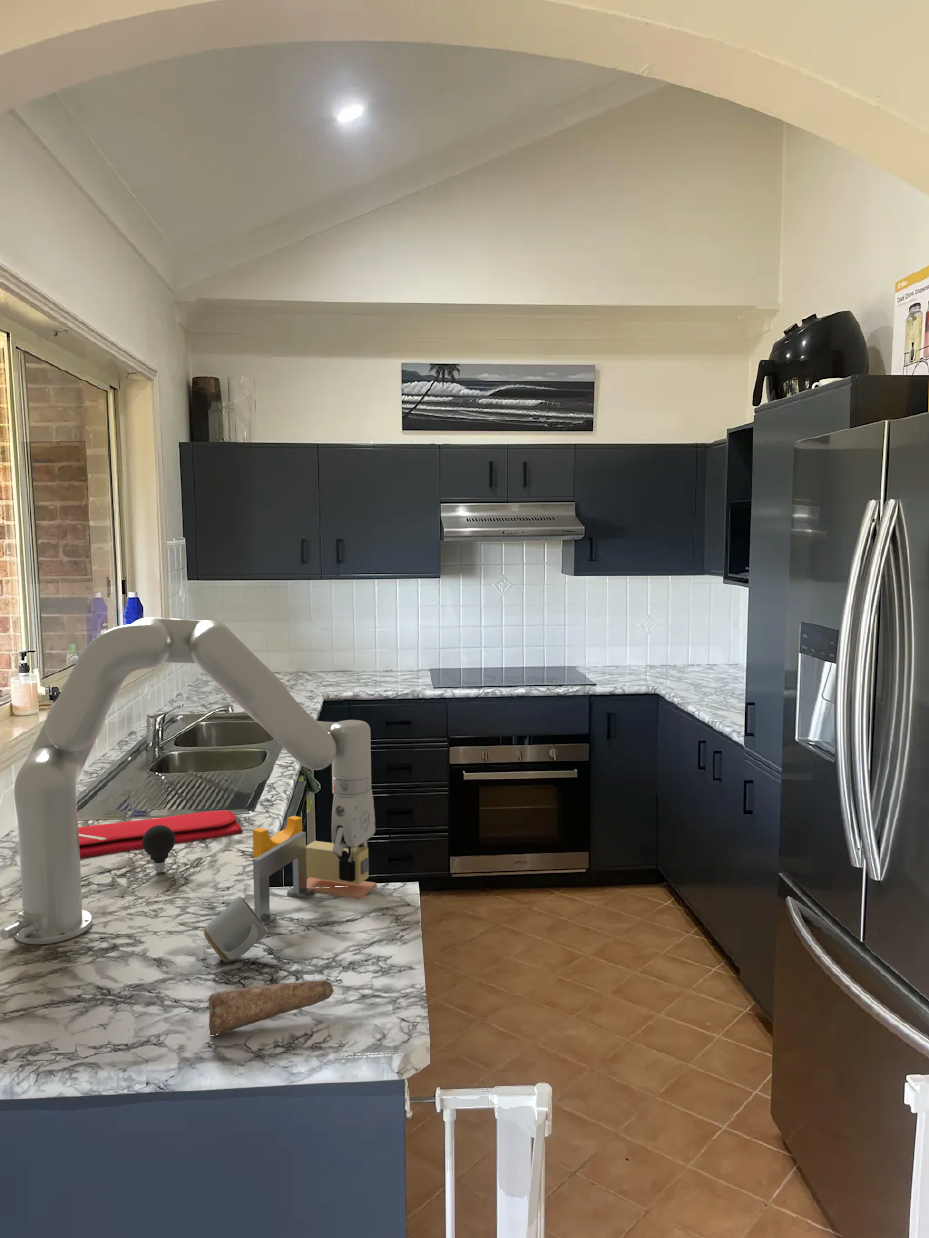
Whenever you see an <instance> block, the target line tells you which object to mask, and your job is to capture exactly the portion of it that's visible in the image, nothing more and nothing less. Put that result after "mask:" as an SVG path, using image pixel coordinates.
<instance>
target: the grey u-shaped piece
mask: <svg viewBox="0 0 929 1238" xmlns="http://www.w3.org/2000/svg"><path fill="white" fill-rule="evenodd" d="M306 846H307V833H306V831H302V832H299V833H297V834H295V835H294V836H292V837H290V838H289V839H287V840H285V841H284V842H282V843H280V844H279V845H277V846H275V847H274V848H272V849H270V850H269V851H267V852H265V853H263V854H262V855H260V856H258V857H257V858H253V859H252V864H253V865H252V866H253V867H252V868H253V901H254V905H253V907H254V910H253V911H254V912H255V913H256V915H257V916H258V917H259V919H260V920H261V921H262V922H263V924H264V925H265V927H266V926H268V927H269V926H271V923H272V924H273V923H275V922H276V921H277V920H276V919H277V915H275V914H270V913H271V909H270V908H271V907H270V877H271V876H272V875H273V874H274V873H276V872H278V871H279V870H281V869H283V868H284V867H285V866H287V865H289V864H290V863H292V884H293V885H292V886H293V887H292V888H291V889H290V890H288V891H286V895H287V897H294V898H300V899H303V900H304V899H306V898H309V896H311V895H312V894H314V892H313V889H310V888H307V879H308V877H307V867H306ZM275 920H276V921H275Z"/></svg>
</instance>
